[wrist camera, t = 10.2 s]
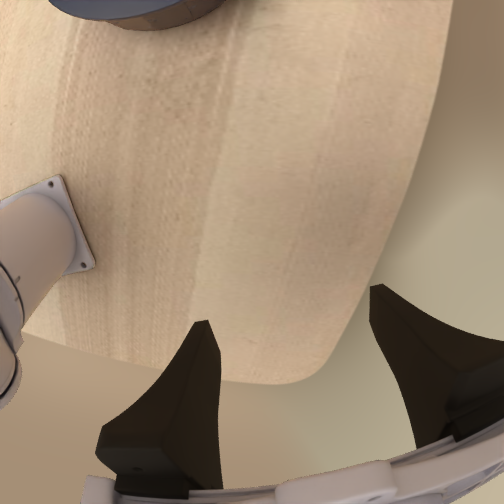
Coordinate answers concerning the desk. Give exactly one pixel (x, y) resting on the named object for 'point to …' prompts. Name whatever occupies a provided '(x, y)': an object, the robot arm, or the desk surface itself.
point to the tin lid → (113, 8)
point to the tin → (170, 16)
